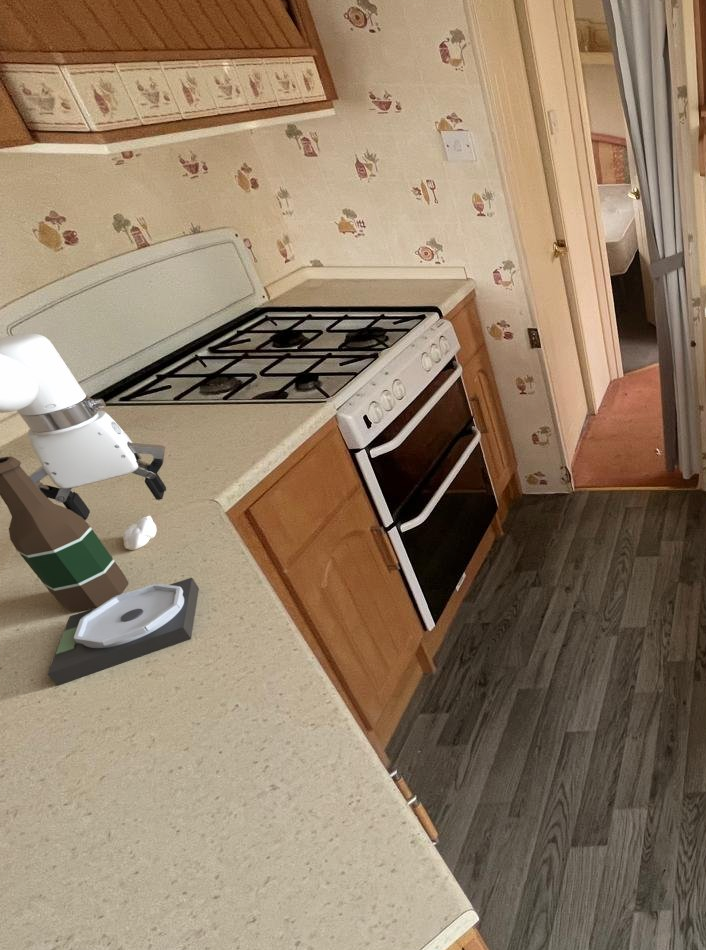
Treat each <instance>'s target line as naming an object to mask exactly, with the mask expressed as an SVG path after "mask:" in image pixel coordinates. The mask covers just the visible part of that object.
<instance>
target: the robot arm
mask: <svg viewBox="0 0 706 950" xmlns="http://www.w3.org/2000/svg"><path fill="white" fill-rule="evenodd" d="M106 406H107V404H106V402H105V401H104V399H103V398H98V399H95V398H94V399H93V398H92V397H90V395H87V394H86V393H85V391H84V389H83V388H82V387H81V385H80V384H79V382H78V380H77V379H76V377H75V376H74V375H73V373H72V371H71V369H69V366H67V364H66V362H65V360H63V358H62V356H61V355H60V353H59V352H58V350H57V349H56V347H55V346H54V345H53V343H52V341H51V340H50V339H49V338H47V337H46V336H44V335H42V334H38V333H18V334H12V335H8V336H2V337H0V414H3V413H13V412H17V413H18V415H19V416H20V417H21V418H22V420H23V421H24V422H25V424H26V425H27V427H28V428H29V429H28V431H27V436H28V437H27V438H28V439H29V442H30V444H31V447H32V449H33V451H34V453H35V455H36V458H37V459H38V461H39V463H40V464H41V466H40V467H38V468H37V469H35V470H34V471H32V472H31V473H30V474H29V475H28V476H29V477H30V479H31V480H32V481H33V482H34V483H35V484H36V486H37V487H38V488H39V489H40V490H41V491H42V493H43V494H44V495H45V496H46V497H47V498H48V499H51V500H55V501H56V502H57V503H61V504H63V505H64V507H65V508H67V509H69V510H71V511H73V512H74V513H76V514H78V515H79V516H81V517H82V518H83V519H84V520H85V521H87V520H88V518H89V515H90V514H91V510H90V508H89V507H88V506H87V504H86V503H85V502H84V500H83V499H82V498H81V496H80V495H79V494H78V493H77V492H76V491H72V490H73V489H75V488H79V487H83V486H88V485H91V484H95V483H99V482H103V481H107V480H110V479H114V478H119V477H122V476H125V475H128V474H134V475H137V476H140V477H142V478H145V479H144V483H145V485H146V486H147V488H148V490H149V491H150V492H151V494H152V496H153V497H154V499H155V500H158V501H161V500H163V499H164V495H165V492H166V491H167V487H166V484H165V483H164V482H163V479H161V477H160V476H159V474H158V473H159V472H160V469H161V468H162V466H163V464H164V461H165V453H166V447H165V446H164V445H162V444H149V443H137V442H134V441H132V439H131V438H130V437H129V436H128V434H127V433H126V432H125V430H123V429H122V427H121V426H120V425H119V424H118V423H117V422H116V421H115V419H114V418H113V417H111V416H110V415H109V413H107V412H106V411H105V410H101V409H102V408H103V409H104V408H106ZM142 454H143V455H144V454H145V455H151V456H152V461H151V463H150V462H149V463H148V462H145V461H143V460H142ZM47 476H48V477H49V479H50V480H51V481H52V482H53V484H54V485H55V486H52V485H48V484H44V483H43V482H41V480H43V479H45V477H47Z"/></svg>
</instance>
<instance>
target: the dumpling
mask: <svg viewBox="0 0 706 950" xmlns="http://www.w3.org/2000/svg"><path fill="white" fill-rule="evenodd" d="M157 531H158V529H157V525H156V523H155V522H154V521H153V518H152V515H145V516H143V517H141V518H139V519H138V520H137V521H135V522H134V523H133V524H131V525H130V526H129V527H128V528H127V529H126V530H125V531H124V532H123V534H122V540H123V546H124V548H125V549H127V550H131V551H135V550H138V549H140V548H142V547H144V546H146V545H147V544H148V543H149V542H150V540H152V539H153V538H155V536H156V535H157Z"/></svg>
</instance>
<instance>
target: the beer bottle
mask: <svg viewBox="0 0 706 950" xmlns="http://www.w3.org/2000/svg"><path fill="white" fill-rule="evenodd" d="M21 464H22V462H21V461H20V460H18V459H17V458H16V457H14V456H2V457H0V498H1V499H2V500H3V502H4V504H5V505H6V506H7V509H8V511H9V513H10V516H11V520H10V522H9V527H8V534H9V540H10V542H11V544H12V545H13V546H14V549H15V550H16V551H17V553H18V554H19V555H20V556H21V558H22V559H23V560H24V561H25V563H26V564H27V565H28V566H29V568H30V569H31V570H32V571H33V573H34V574H35V575H36V576H37V578H38V580H40V581H41V583H42V584H43V586H44V587H45V588H46V589H47V590H48V592H49V593H50V594H51V595H52V596H53V598H54V599H55V600H56V601H57V602H58V603H59V604H60V605H61V606H62V607H64V608H65V609H67V610H69V611H71V612H73V613H80V612H84V611H88V610H91V609H94V608H97V607H99V606H101V605H102V604H104V603H105V602H107V601H108V600H110V599H111V598H113V597H116V596H117V595H120V594H123V592H124V591H125V589H126V588H127V587H128V586H129V581H128V579H127V577H126V576H125V574H124V573H123V571H122V569H121V568H120V566H119V565H118V564H117V562H116V561H115V559H114V558H113V557H112V555H111V554H110V552H109V551H108V549H107V548H106V547H105V545H104V543H103V542H102V541H101V540H100V538H99V537H98V535H97V534H96V533H95V531H94V530H93V528H92V527H91V526H90V525H89V523H88V522H87V520H84V519H83V518H82V517H81V516H79V515H78V514H76V513H74V512H73V511H71V510H69V509H67V508H66V507H65V506H62V505H59V504H57V503H54V502H53V501H52V500H50V498H47V497H46V496H45V495H44V494H43V493H42V491H41V490H40V489H39V488H38V487H37V486H36V484H35V483H34V482H33V481H32V480H31V479H30V477H29V475H28V474H27V473H26V471H25V470H24V469H23V468H22V467H21Z"/></svg>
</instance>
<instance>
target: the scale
mask: <svg viewBox="0 0 706 950" xmlns="http://www.w3.org/2000/svg"><path fill="white" fill-rule="evenodd" d="M199 590H200V587H199V586H198V585H197V583H196V581H195V579H194V578H193V577H189V578H185V579H182V580H180V581H175V582H173V583H170V584H163V583H152V584H149V585H146V586H143V587H140V588H137V589H134V590H130V591H126V592H124V593H121V594H120V595H117V596H116V597H113V598H111V599H110V600H108V601H107V602H105V603H104V604H102V605H101V606H99V607H97V608H93V609H88V610H84V611H81V612H77V613H76V614H72V615H69V616H68V619H67V622H66V625H65V627H64V630H63V632H62V635H61V637H60V640H59V643H58V645H57V647H56V650H55V653H54V655H53V658H52V661H51V663H50V666H49V668H48V671H47V673H46V674H47V676H48V677H49V678H50V680H51V681H52V682H53V683H54V684H55V686H61V685H64V684H66V683H69V682H72V681H74V680H77V679H80V678H83V677H86V676H89V675H91V674H95V673H98V672H100V671H103V670H106V669H108V668H112V667H115V666H118V665H120V664H123V663H125V662H129V661H132V660H135V659H138V658H141V657H143V656H146V655H149V654H151V652H152V653H154V651H155V652H158V651H160V650H162V649H166V648H168V646H169V647H172V646H174V645H177V644H180V643H183V642H186V641H189V640H191V639H192V635H193V628H194V622H195V616H196V610H197V603H198V597H199V596H198V595H199ZM148 653H149V654H148ZM145 654H146V655H145ZM142 655H143V656H142ZM134 658H135V659H134Z"/></svg>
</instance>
